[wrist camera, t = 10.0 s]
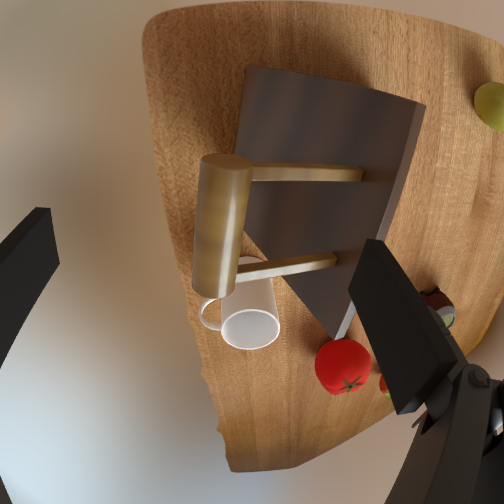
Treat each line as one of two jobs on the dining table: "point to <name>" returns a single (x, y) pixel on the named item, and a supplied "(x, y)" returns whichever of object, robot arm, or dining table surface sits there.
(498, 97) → the apple
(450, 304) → the mate gourd
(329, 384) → the tomato
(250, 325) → the mug
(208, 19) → the dining table surface
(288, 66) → the dining table surface
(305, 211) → the lid
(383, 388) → the fruit
